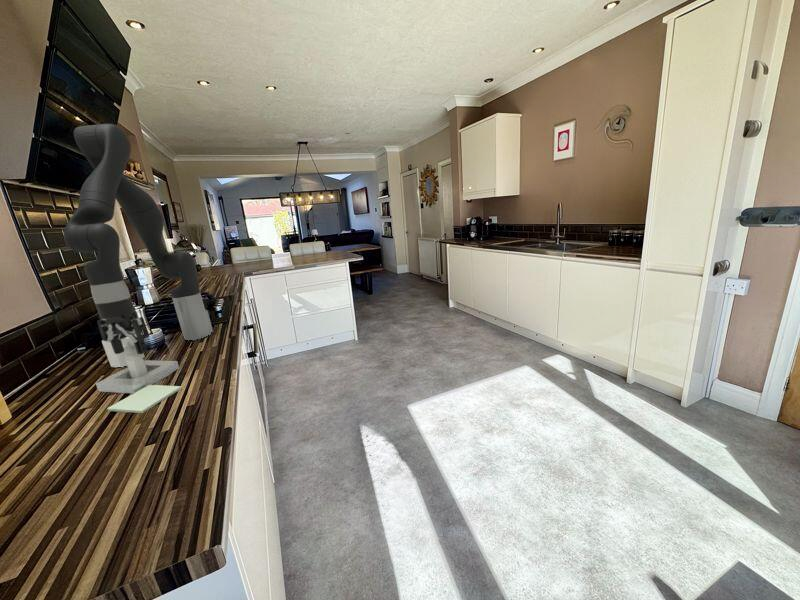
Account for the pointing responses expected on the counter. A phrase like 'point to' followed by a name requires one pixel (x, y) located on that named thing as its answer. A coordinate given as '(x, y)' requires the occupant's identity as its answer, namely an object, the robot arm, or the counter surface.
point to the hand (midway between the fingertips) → (131, 353)
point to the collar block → (125, 384)
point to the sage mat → (144, 399)
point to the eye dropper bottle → (134, 362)
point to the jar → (119, 359)
